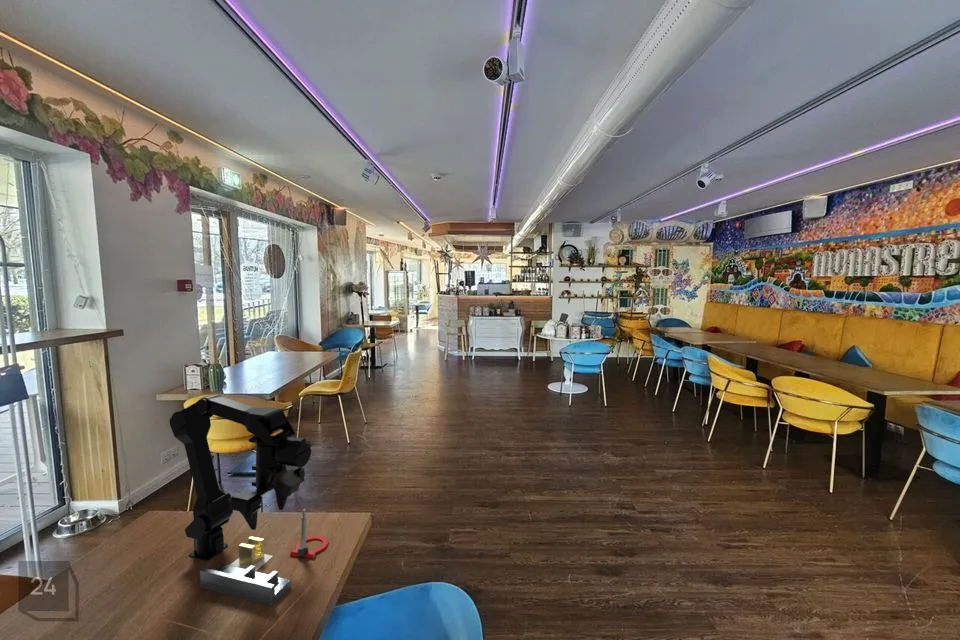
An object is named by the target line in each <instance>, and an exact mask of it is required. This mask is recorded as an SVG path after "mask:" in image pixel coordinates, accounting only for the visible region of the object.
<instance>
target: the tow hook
mask: <svg viewBox="0 0 960 640" xmlns="http://www.w3.org/2000/svg"><path fill="white" fill-rule="evenodd" d="M306 511H307V510H306V508H303V509H302V513H301V526H300V539H299V541H298V542H297V543H296V544H295V549H292V550H291V551H290V553H289V555H290V556H291V557H296V558H301V559H311V560H314V559H315V557H316V556H317V555H318V554H319V553H322V552H323V551H325V550H326V549H327V547H328V546H329V540H328V538H327V537H325V536H323V535H311V536H308V537H307V517H306V515H307V514H306ZM312 541H320V542H321V543H322V544H321V545H320V546H319V547H317V548H314V549H311V550H309V546H307V542H312Z"/></svg>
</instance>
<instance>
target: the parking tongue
mask: <svg viewBox="0 0 960 640" xmlns="http://www.w3.org/2000/svg"><path fill="white" fill-rule="evenodd" d="M273 557H274V555H271V554H266V553H264V557H263V558H262V559H261V560H260V561H259V562H257V563H256V564H255V565H254V566H255V572H257V571H258V570H259V569H260V568H261V567H263V566H264V565H265V564H266V563H267V562H268V561H270V559H272V558H273ZM229 565H230V566H234V567H238V568H242V569H247V568H248V567H249V566H246V565H242V564H239V557H238V558H237V559H235V560H234V561H232V562H231V563H230V564H229Z"/></svg>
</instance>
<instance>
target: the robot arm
mask: <svg viewBox="0 0 960 640" xmlns="http://www.w3.org/2000/svg"><path fill="white" fill-rule="evenodd" d="M213 416H216V417H219V418H222V419H224V420H228V421H230V422H234V423H237V424H240V425H242V426H244V427H245V429H246V431H247V432H248V433H250V434H252V436H251V437H250V438H249V439H248V442H249V443H253V444H255V447H256V448H255V464H252V465H251V471H255V479H254V480H253V481H251V486H252V487H255V488H256V489H254V490H253V491H251V490H247V489H243V490H241V491H239V492H237V493H236V494H234V495H231V493H230V492H228V493H225V492H224V491H222V489H220V486H219V483H218V477H217V473H216V470H215V466H214V462H213V457H212V454H211V450H210V449H211V448H210V446H209V442H208V435H209V432H210V429H211V425H212V424H211V418H212V417H213ZM169 426H170V429H171V431H172V434H173V436H174V438H175V439H177V440H178V441H179V442H181V443H182V444H183V446H184V450H185V453H186V454H185V455H186V458H187V461H188V465H189V470H190V475H191V477H192V481H193V485H194V489H195V490H194V491H195V493H196V500H195V502H194V506H193V509H192V515H193V520H192V521H191V522H190V523H189V524H188V525H187V526H186V527H185V528H184V532H185V536H186V538H189V539H193V548H194V549H193V551H192V552H189V554H188V557H190V558H193V559H194V558H195V559H199V560H204V561H209V560H211V559H212V558H214V557H215V556H216V555H218V554H219V553H220V552H222V551H223V550H225V549H226V548H228V547H229V544H228V543H225V541H224V540H225V539H224V538H225V537H224V532H223V531H224V530H223V529H224V528H223V526H224V525H225V524H227V523H229V521H230V519H231V516H232V514H233V513H234V511H237V512H239V513H240V514H241V515H242V517H243V518H244V520H245V522H246V523H247V525H248V527H249V528H250V530H253V531H256V529H257V525H258V514H259V513H258V512H259V510H260V509H262V507H263V505H262V503H263V496H265V495H266V494H268V493H269V492H271V491H273V490H274V491H275V492H274V493H275V498H276V504H277V507H278V510H279V511H283V510H284V509H285V506H286V502H287V499H288V497H290V496H291V495H292V494H294V493H295V492H298V491H299V489H300V485H301V484H302V483H304V482H305V479H306V478H305V476H306V473H305V468H304V467H305V466H306V465H307V463H308V462H309V461H310V459H311V456H312V448H311V446H310V444H309V443H307V441H306V440H307V439H306V438H304V437H296V436H295V435H296V432H295V431H296V430H294V428H293V426H292V424H291V422H290V421H289V419H288V418H287V415H286V414H285V411H284V410H282V409H281V408H277V407H270V406H269V407H266V406H265V407H257V406H256V407H255V406H251V405H249V404H246V403H242V402H240V401H237V400H233V399H231V398H230V399H229V398H226V397H224V396H222V395H221V394H216V393H214V394H211V395H207V396H204V397H201V398H200V399H198V400H197V401H196V402H194V403H193V404H190V405H189V406H187V407H185V408H184V409H181V410H179V411H178V410H177V411H175V412H174V413H173V414H172V415H171V417H169ZM280 431H281V432H280ZM278 432H280V433H278ZM275 433H277V434H275ZM273 434H274V435H273ZM294 436H295V437H294Z"/></svg>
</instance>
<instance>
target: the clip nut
mask: <svg viewBox="0 0 960 640" xmlns="http://www.w3.org/2000/svg"><path fill="white" fill-rule="evenodd" d="M247 541H248V543H245V542H242V543H241V542H240V544H239V545H238V558H239V564H242V565H246V566H251V565H252V566H254V565H255V564H256V563H257V562H259V561H260V560H261V559H262V558H263V557H264V554H265V539H264V538H263V537H262V538H261V537H256V536H253V535H251V536H249V537H248V539H247Z"/></svg>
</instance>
